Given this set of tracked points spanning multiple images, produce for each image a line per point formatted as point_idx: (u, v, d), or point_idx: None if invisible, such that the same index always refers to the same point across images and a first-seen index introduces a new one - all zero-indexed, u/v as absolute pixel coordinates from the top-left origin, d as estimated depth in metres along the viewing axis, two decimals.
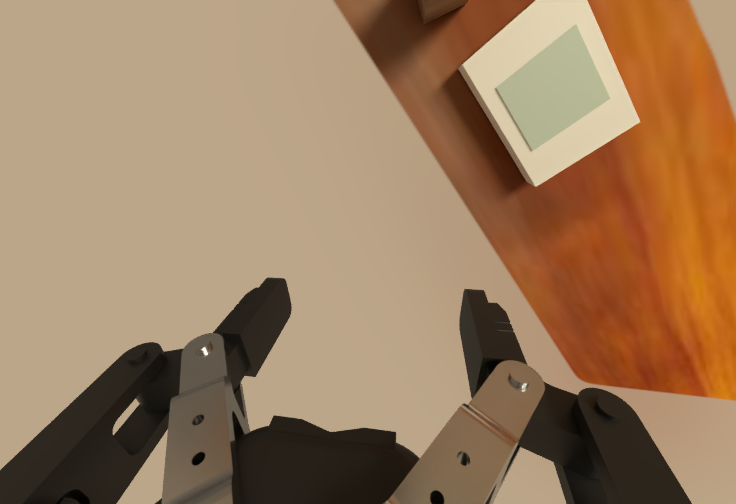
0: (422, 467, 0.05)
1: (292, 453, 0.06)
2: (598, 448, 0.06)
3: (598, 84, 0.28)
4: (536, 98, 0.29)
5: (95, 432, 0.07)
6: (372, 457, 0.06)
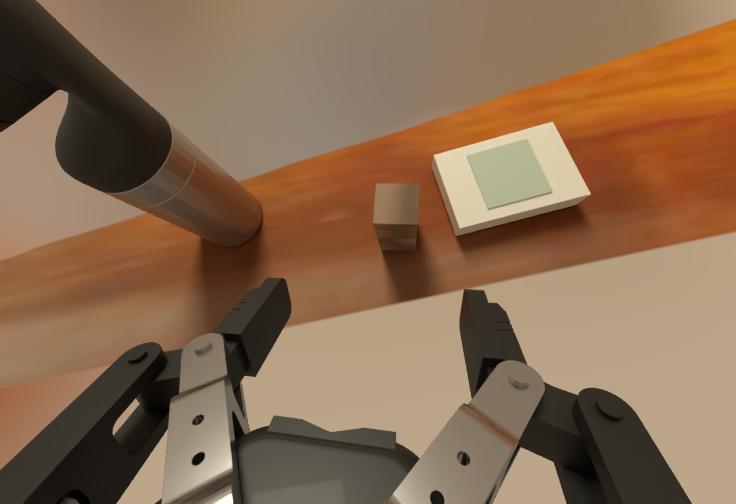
0: (422, 467, 0.05)
1: (292, 453, 0.06)
2: (598, 448, 0.06)
3: (513, 145, 0.37)
4: (507, 183, 0.35)
5: (95, 432, 0.07)
6: (372, 457, 0.06)
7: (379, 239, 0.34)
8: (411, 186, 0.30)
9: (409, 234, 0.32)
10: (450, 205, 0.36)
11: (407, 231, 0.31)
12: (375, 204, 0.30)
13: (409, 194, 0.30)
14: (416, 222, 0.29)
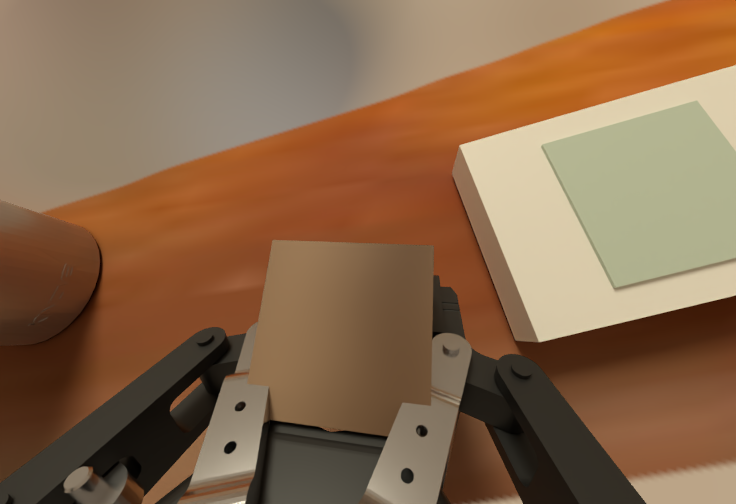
0: (422, 467, 0.05)
1: (292, 453, 0.06)
2: (520, 408, 0.07)
3: (659, 118, 0.15)
4: (663, 216, 0.13)
5: (154, 407, 0.07)
6: (372, 457, 0.06)
7: None
8: (404, 255, 0.08)
9: None
10: (507, 272, 0.14)
11: None
12: (261, 327, 0.08)
13: (393, 287, 0.07)
14: None
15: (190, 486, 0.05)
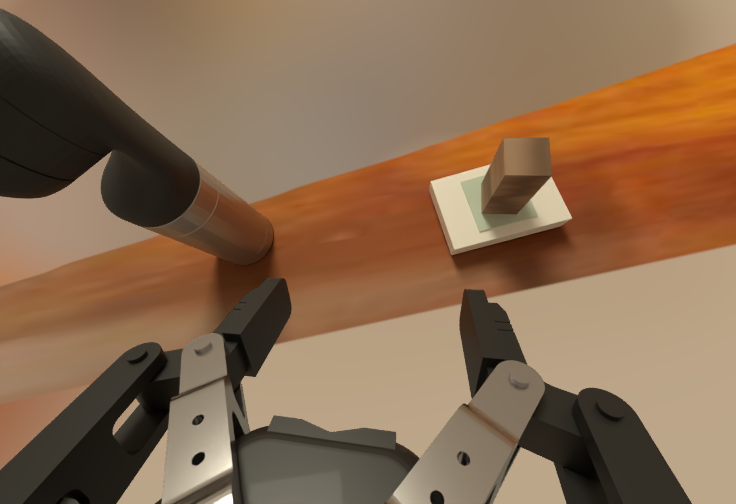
0: (422, 467, 0.05)
1: (292, 453, 0.06)
2: (598, 448, 0.06)
3: None
4: None
5: (95, 432, 0.07)
6: (372, 457, 0.06)
7: (492, 198, 0.35)
8: (541, 140, 0.30)
9: (531, 189, 0.32)
10: (446, 228, 0.40)
11: (532, 185, 0.31)
12: (505, 157, 0.30)
13: (539, 147, 0.30)
14: (550, 173, 0.29)
15: None
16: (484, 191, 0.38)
